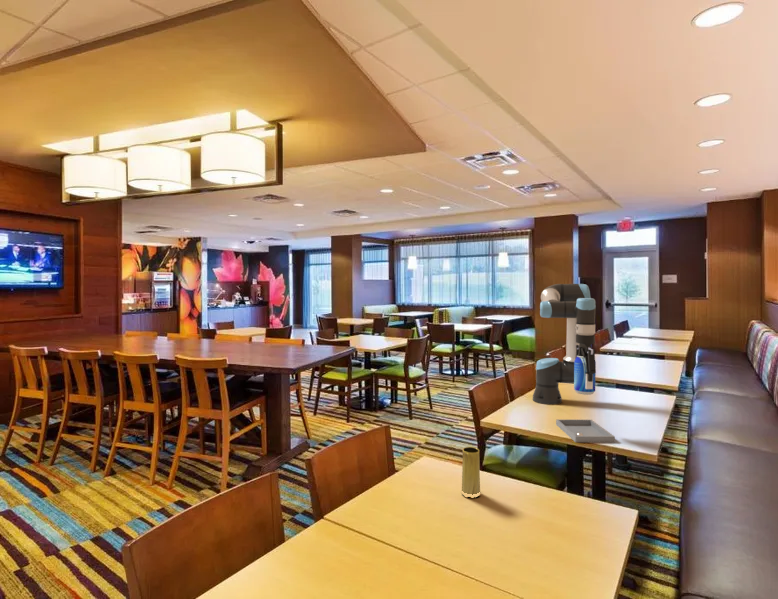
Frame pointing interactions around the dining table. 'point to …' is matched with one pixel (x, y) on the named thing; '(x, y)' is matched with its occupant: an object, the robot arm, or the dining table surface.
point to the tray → (585, 431)
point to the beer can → (582, 377)
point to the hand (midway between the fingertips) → (584, 386)
